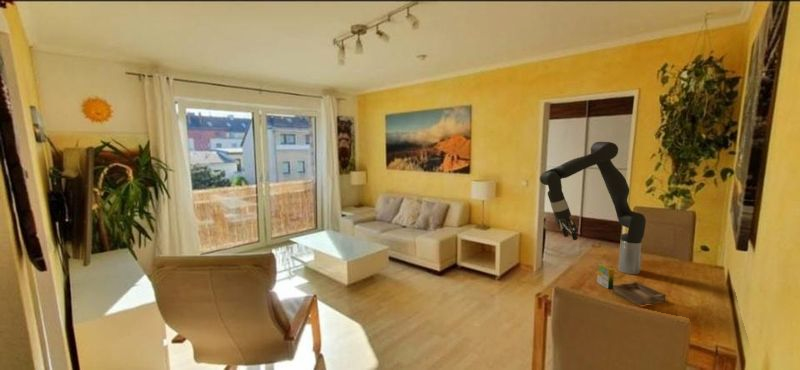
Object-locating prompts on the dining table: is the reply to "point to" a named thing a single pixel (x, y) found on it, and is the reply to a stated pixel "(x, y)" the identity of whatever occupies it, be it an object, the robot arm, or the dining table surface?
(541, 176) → the robot arm
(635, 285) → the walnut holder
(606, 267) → the crayon box
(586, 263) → the dining table surface
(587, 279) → the dining table surface
